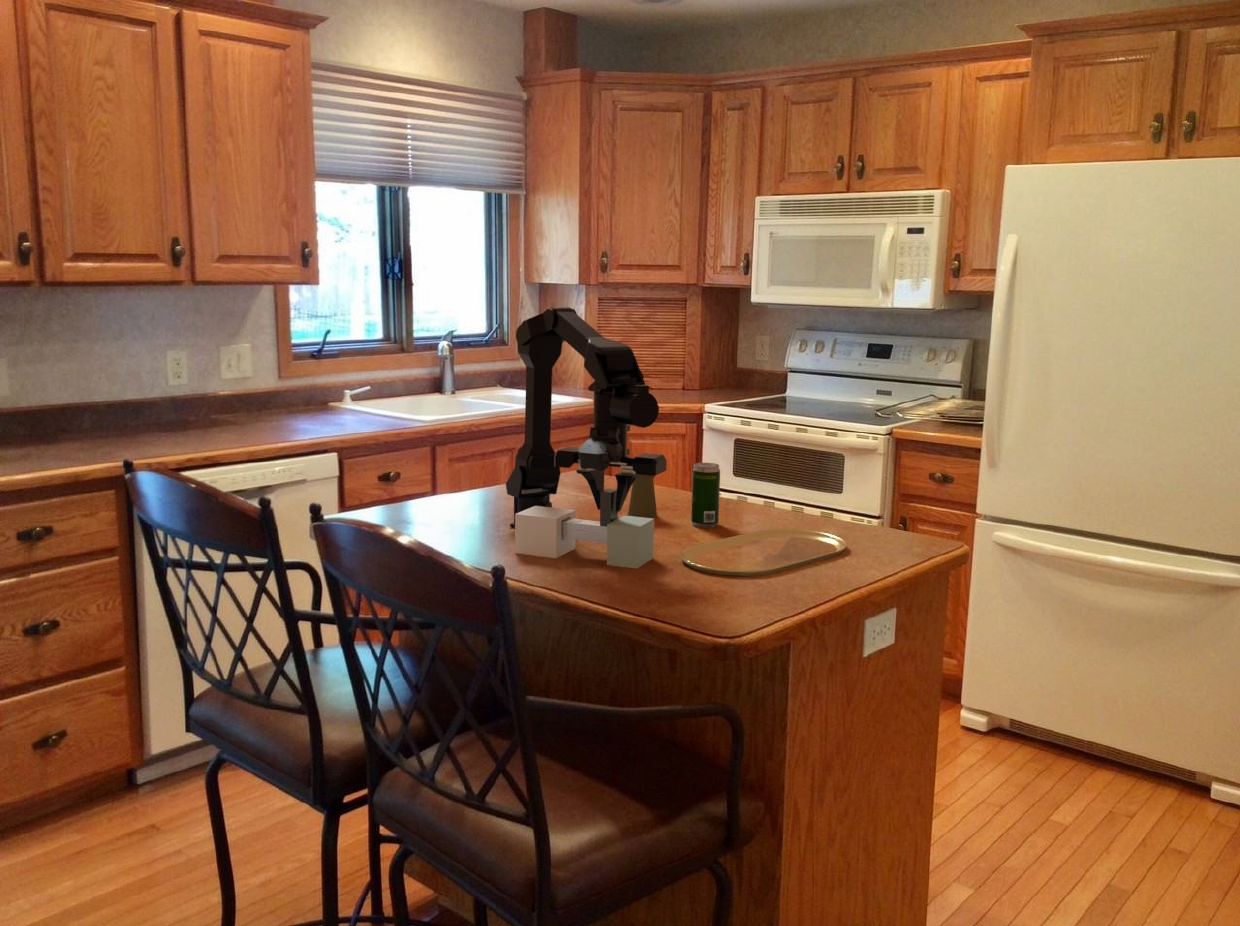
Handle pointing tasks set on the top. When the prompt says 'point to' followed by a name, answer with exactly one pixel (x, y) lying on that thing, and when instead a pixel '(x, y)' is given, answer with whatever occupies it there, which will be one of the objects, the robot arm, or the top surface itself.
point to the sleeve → (542, 532)
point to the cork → (643, 498)
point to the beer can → (705, 495)
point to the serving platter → (758, 535)
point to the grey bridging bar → (592, 529)
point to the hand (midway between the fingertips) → (609, 510)
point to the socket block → (630, 541)
